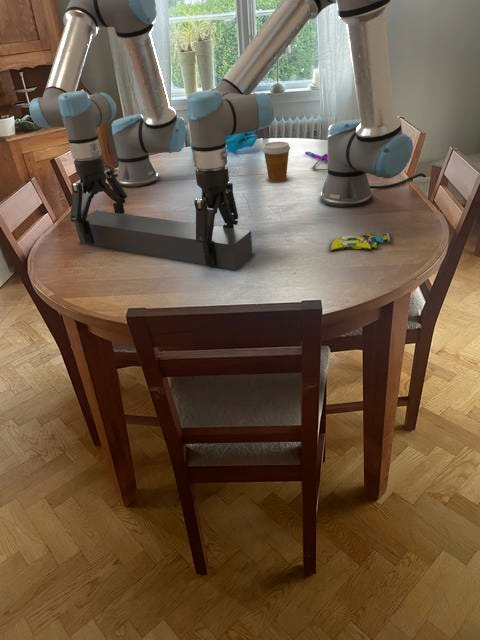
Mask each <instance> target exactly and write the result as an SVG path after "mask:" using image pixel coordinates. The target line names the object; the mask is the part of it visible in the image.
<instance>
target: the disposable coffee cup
mask: <svg viewBox="0 0 480 640" xmlns="http://www.w3.org/2000/svg"><path fill="white" fill-rule="evenodd" d="M290 149H291V146H290V144H289V142H286V141H272V142H266V143H265V144H263V148H262V151H263V153H264V159H265V165H266V171H267V178H268V182H272V183H273V182H274V183H278V182H279V183H280V182H283V181H286V180H287V174H288V165H289V155H290V154H289V153H290Z"/></svg>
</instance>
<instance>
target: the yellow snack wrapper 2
mask: <svg viewBox="0 0 480 640" xmlns="http://www.w3.org/2000/svg"><path fill="white" fill-rule="evenodd" d="M365 237H366V238H365ZM384 242H387V243H389V244H391V238H390V233H389V232H387V233H386V235H384V236H383V235H382V234H380V235H378V236H376V237H375V235H372V234H371V233H370V232H369V233H364V234H362V236H360V235H354V234H353V235H352V234H351V235H350V234H349V235H341V236H338V237H336V238H335V239H334V240H333V241H332V243H331V245H330V252H334V251H335V252H336V251H339V250H350V249H354V250H367V251H373V249H376V250H377V249H378V244H384Z"/></svg>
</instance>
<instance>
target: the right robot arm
mask: <svg viewBox="0 0 480 640" xmlns="http://www.w3.org/2000/svg"><path fill="white" fill-rule="evenodd" d="M391 2H392V1H391V0H281V1H280V3H279V4H278V5H277V6H276V7H275V9H274V11H272V13H271V14H270V16H269V17H268V18H267V20H266V21H265V22H264V24H263V25H262V26H261V27H260V29H259V30H258V31H257V33H256V34H255V36H254V37H253V38H252V39H251V41H250V42H249V43H248V44H247V46H246V47H245V49H244V50H243V51H242V52H241V54H240V55H239V56H238V57H237V59H236V60H235V62H234V63H233V64H232V66H231V67H230V68H229V70H228V71H227V72H226V73H225V75H224V76H223V77H222V78H221V80H220V81H219V83H218V84H217V85H216V86H215V88H211V89H208V90H201V91H195V92H192V93H190V94H189V95H188V96H187V98H186V107H187V108H186V109H187V120H188V126H189V132H190V139H191V143H192V148H193V149H192V150H193V152H192V157H193V159H192V160H193V167H195V170H194V171H195V180H196V185H197V186H198V187H199V188H200V189H201V197H200V198H199V199H198V198H195V199H194V207H195V223H196V242H200V243H203V251H204V255H205V262H206V265H205V266H208V267H212V268H217V267H216V266H217V263H216V254H215V245H214V241H212V234H213V227H214V226H215V219H216V214H217V213H218V212H219V213H220V216H221V218H222V220H223V223H224V224H223V225H222V227H226V228H234V229H235V226H237V225H238V223H239V221H238V219H239V212H238V209H237V204H236V200H235V199H236V198H235V195H234V184H233V183H232V182H230V174H229V167H228V166H227V165H228V152H227V150H226V146H227V145H226V136H230V135H235V134H240V133H245V132H251V131H256V132H259V131H261V130H264V129H267V128H269V127H270V126H271V125H272V124H273V121H274V117H275V113H274V110H275V109H274V104H273V102H272V99H271V97H270V96H269V95H268V94H267V93H265V92H260V93H256V92H254V91H255V90H256V88H257V87H258V85H259V84H260V83H261V82H262V80H263V79H264V78H265V77H266V75H267V74H268V73H269V72H270V70H271V69H272V68H273V66H274V65H275V64H276V63H277V61H279V59H280V57H281V56H282V55H283V54H284V52H285V51H286V50H287V48H288V47H289V46H290V45H291V44H292V42H293V41H294V40H295V38H296V37H297V36H298V34H299V33H300V31H301V30H302V29H303V28H304V27H305V25H306V24H307V23H308V21H311V20H312V21H313V20H315V19H316V18H317V17H318V16H319V14H320V13H321V12H322V11H323V10H325V9H326V8H327V7H329V6H330V5H334V4H336V9H337V16H338V19H339V20H341V21H342V22H344V23H345V24H346V31H347V37H348V44H349V51H350V60H351V65H352V72H353V73H352V74H353V80H354V86H355V88H354V89H355V94H356V101H357V108H358V116H359V119H358V118H357V119H348V120H341V121H338V122H337V121H336V122H334V123H332V124H330V126H329V127H328V133H327V138H326V139H327V154H328V162H327V169H328V170H327V174H326V177H325V181H324V184H323V186H322V190H321V192H320V201H321V203H323V204H325V205H328V206H330V207H334V208H335V207H336V208H353V207H360V206H363V205H366V204H368V203H369V202H370V201H371V200H372V190H373V189H375V190H376V189H377V190H381V189H388V188H393V187H396V186H401V185H404V184H405V183H407V182H409V181H412V180H414V179H416V178H418V177H422V178H427V176H426V174H425V173H423V172H421V173H417V174H414V175H412V176H410V177H406V178H405V179H404V180H401V181H398V182H395V183H391V184H384V185H370V182H369V178H368V175H367V174H369V175H373V176H375V177H377V178H383V179H393V178H395V177H397V176H399V175H400V174H401V173H402V172H403V171H404V170H405V169H406V167H408V164H409V163H410V160H411V158H412V155H413V151H414V142H413V140H412V138H411V137H410V136H409V135H408V134H406V133H403V129H402V128H403V127H402V126H403V125H402V120H401V118H399V117H398V116H396V115H395V107H394V98H393V87H392V86H393V85H392V76H391V67H390V66H391V65H390V56H389V45H388V44H389V43H388V34H387V24H386V13H385V12H386V10H387V8H388V7H389V6H390V5H391ZM192 150H191V151H192ZM207 236H208V237H207Z"/></svg>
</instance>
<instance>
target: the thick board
mask: <svg viewBox="0 0 480 640" xmlns="http://www.w3.org/2000/svg"><path fill="white" fill-rule="evenodd" d="M86 220H87V221H89V224H90V228H91V232H92V236H93V239H94V244H87V243H85V240H84V237H83V233H81V232H80V228H79V225H78V222H74V225H75V229H76V232H77V236H78V239H79V243H80V244H81V245H88V246H93V247H100V248H106V249H110V250H111V249H112V250H115V251H116V250H117V251H122V252H128V253H133V254H138V255H145V256H150V257H157V258H161V259H162V258H163V259H169V260H174V261H179V262H185V263H189V264H190V263H191V264H197V265H202V266H207V265H206V262H205V255H204V251H203V243H200V242H196V222H188V221H180V220H173V219H166V218H158V217H151V216H150V217H149V216H144V215H143V216H142V215H136V214H127V213H124V214H121V213H115V212H111V211H107V210H105V211H104V210H98V209H97V210H94V211H92V212H90V213H88V214H87V218H86ZM207 237H208V236H207ZM252 240H253V239H252V230H249V229H241V228H235V227H234V228H226V227H223V226H218V225H214V227H213V234H212V241H214V245H215V254H216V263H217V266H216V267H215V268H219V269H224V270H231V271H237V270H238V269H239V268H241V266H243V264H244V263H246V262H247V261H248V260H249V259H250V258H251V257H253V243H252Z"/></svg>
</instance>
